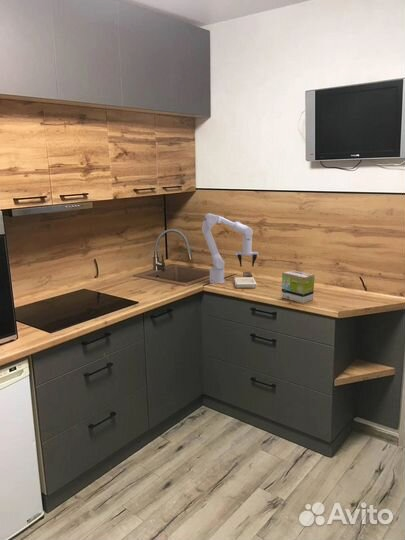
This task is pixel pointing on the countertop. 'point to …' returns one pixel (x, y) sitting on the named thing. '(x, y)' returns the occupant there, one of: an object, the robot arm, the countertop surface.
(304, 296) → the tea box
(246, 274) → the walnut block
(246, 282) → the white tray
